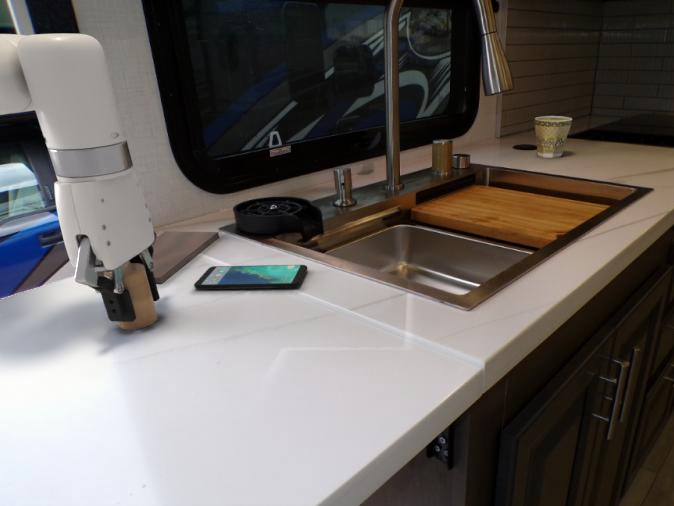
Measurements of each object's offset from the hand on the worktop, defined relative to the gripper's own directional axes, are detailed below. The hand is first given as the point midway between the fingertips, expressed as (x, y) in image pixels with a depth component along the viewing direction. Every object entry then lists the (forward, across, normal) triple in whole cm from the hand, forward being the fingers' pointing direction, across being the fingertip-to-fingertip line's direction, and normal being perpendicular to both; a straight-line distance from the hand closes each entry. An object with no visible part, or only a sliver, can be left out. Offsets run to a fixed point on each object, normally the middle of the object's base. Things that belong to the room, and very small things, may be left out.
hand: (135, 308), depth 65 cm
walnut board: (+2, -21, -8) cm, 23 cm away
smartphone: (+2, -13, +10) cm, 17 cm away
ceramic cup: (+2, -103, +65) cm, 122 cm away
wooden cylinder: (+2, 0, 0) cm, 2 cm away
